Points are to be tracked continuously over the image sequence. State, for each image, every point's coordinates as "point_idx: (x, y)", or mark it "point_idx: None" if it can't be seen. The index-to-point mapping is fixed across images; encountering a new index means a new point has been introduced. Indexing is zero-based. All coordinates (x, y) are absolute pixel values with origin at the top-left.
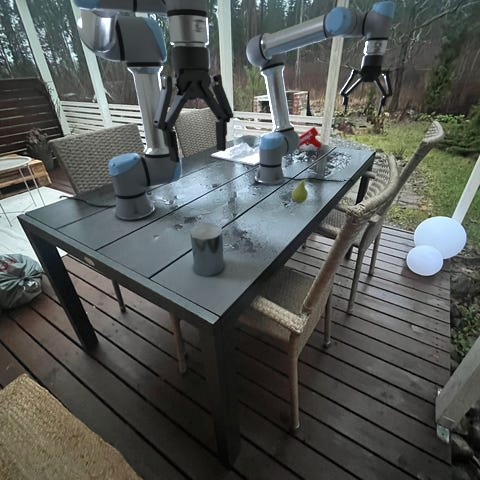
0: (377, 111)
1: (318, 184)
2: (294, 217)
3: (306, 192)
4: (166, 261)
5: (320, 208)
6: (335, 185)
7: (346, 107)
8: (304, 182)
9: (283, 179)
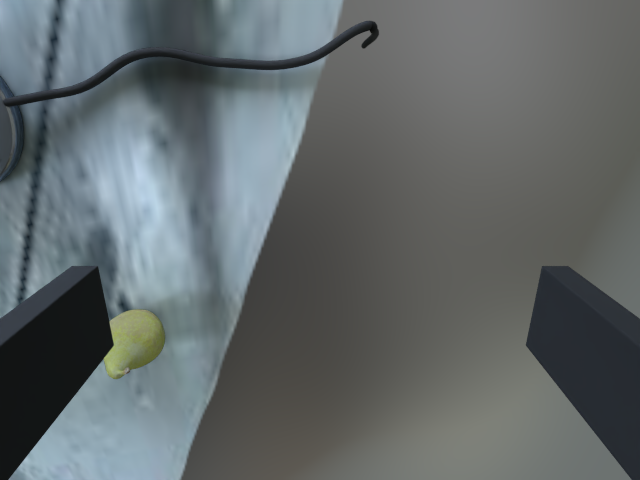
0: (562, 294)
1: (196, 120)
2: (155, 416)
3: (153, 353)
4: None
5: (224, 350)
6: (277, 115)
7: (54, 409)
8: (123, 374)
9: (14, 132)
